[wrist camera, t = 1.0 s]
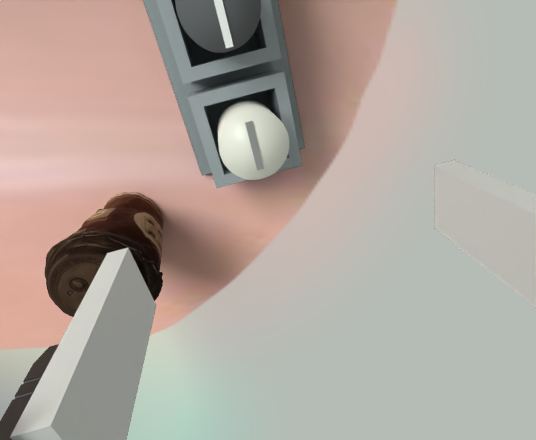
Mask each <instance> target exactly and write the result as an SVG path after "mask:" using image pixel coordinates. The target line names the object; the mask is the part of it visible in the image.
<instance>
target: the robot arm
mask: <svg viewBox="0 0 536 440" xmlns="http://www.w3.org/2000/svg"><path fill="white" fill-rule="evenodd" d="M434 169H435V170H434V172H435V174H434V177H435V179H434V180H435V181H434V186H435V187H434V193H435V194H434V197H435V198H434V204H435V205H434V207H435V208H434V211H435V212H434V228H435V229H436V230H437V231H438V232H440V233H441V234H442V235H443V236H445V237H446V238H447V239H448V240H450V241H451V242H452V243H454V244H455V245H456V246H458V247H459V248H460V249H461V250H463V251H464V252H465V253H466V254H468V255H469V256H471V257H472V258H473V259H474V260H475V261H477V262H478V263H479V264H481V265H482V266H483V267H485V268H486V269H487V270H488V271H490V272H491V273H492V274H494V275H495V276H496V277H497V278H499V279H500V280H501V281H503V282H504V283H505V284H506V285H508V286H509V287H510V288H512V289H513V290H514V291H515V292H517V293H518V294H520V295H521V296H522V297H523V298H524V299H526V300H527V301H528V302H530V303H531V304H532V305H533V306H535V307H536V195H535V194H533V193H530V192H528V191H526V190H523V189H521V188H519V187H516V186H514V185H512V184H509V183H507V182H505V181H502V180H500V179H498V178H495V177H493V176H491V175H488V174H486V173H484V172H481V171H479V170H477V169H474V168H472V167H470V166H467V165H465V164H463V163H460V162H458V161H456V160H451V161H448V162H444V163H440V164H437V165H435V168H434ZM155 309H156V304H155V302H154V299H153V297H152V295H151V293H150V291H149V289H148V287H147V285H146V283H145V281H144V279H143V277H142V275H141V273H140V271H139V269H138V267H137V264H136V262H135V260H134V258H133V256H132V254H131V252H130V250H129V248H125V249H121V250H117V251H113V252H110V253H107V255H106V257H105V258H104V260H103V262H102V264H101V266H100V268H99V270H98V272H97V274H96V275H95V277H94V279H93V281H92V283H91V285H90V287H89V289H88V291H87V292H86V294H85V296H84V298H83V300H82V302H81V304H80V306H79V308H78V309H77V311H76V313H75V315H74V317H73V319H72V321H71V323H70V325H69V326H68V328H67V330H66V332H65V334H64V336H63V338H62V340H61V342H60V343H59V344H58V345H54V346H51V347H49V348H48V349H47V350H46V351H45V352H44V353H43V354H42V355H41V356H40V357H39V358H38V360H37V361H36V362H35V363H34V364H33V366H32V367H31V369H30V371H29V372H28V374H27V376H26V378H25V379H24V384H22V385H21V386H20V388H19V390H18V392H17V393H16V395H15V399H14V400H12V402H11V403H10V406H9V407H8V409H7V410H6V412H5V414H4V416H3V417H2V419H1V421H0V440H126V439H127V435H128V430H129V426H130V421H131V417H132V412H133V407H134V403H135V399H136V394H137V390H138V385H139V380H140V376H141V372H142V367H143V363H144V358H145V354H146V349H147V345H148V340H149V336H150V332H151V327H152V323H153V318H154V314H155Z"/></svg>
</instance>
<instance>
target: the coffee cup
mask: <svg viewBox="0 0 536 440" xmlns="http://www.w3.org/2000/svg"><path fill="white" fill-rule="evenodd" d="M162 228H163V219H162V216H161V213H160V211H159V209H158V208H157V207H156V206H155V204H154V203H153V202H152V201H151V200H150V199H149V198H146V197H144V196H143V195H141V194H139V193H122V194H120V195H119V194H118V195H115V196H114V197H112V198H111V199H110V200H109V201H108V202H107V203H106V205H105V207H104V209H99V210H98V211H97V212H96V213H95V214H94V215H93V216H91V217H90V218H89V219H87V220H86V221H85V222H84V223H83V225H82V227H81V228H80V229H79V230H78V231H77V232H76V233H74V234H72V235H71V236H69V237H68V238H66V239H64V240H63V241H61V242H59V243H58V244H56V245H55V246H53V247H52V248H51V249H50V251H49V252H48V254H47V257H46V267H45V277H46V280H47V281H46V284H47V289H48V293H49V296H50V298H51V299H52V300H53V302H54V303H55V304H56V305H57V306H58V307H59V308H60V309H61V310H62V311H63V312H64V313H66V314H68V315H69V316H72V317H74V315H75V313H76V311H77V309H78V308H79V306H80V304H81V302H82V300H83V298H84V296H85V294H86V292H87V291H88V289H89V287H90V285H91V283H92V281H93V279H94V277H95V275H96V274H97V272H98V270H99V268H100V266H101V264H102V262H103V260H104V258H105V257H106V255H107V253H110V252H113V251H117V250H121V249H125V248H129V250H130V252H131V254H132V256H133V258H134V260H135V262H136V264H137V267H138V269H139V271H140V273H141V275H142V277H143V279H144V281H145V283H146V285H147V287H148V289H149V291H150V293H151V295H152V297H153V299H154V301H155V300H156V298H157V297H158V296H159V293H160V291H161V288H162V285H163V284H162V282H163V280H162V275H163V273H162V272H159V270H160V264H161V253H162V241H163V235H162Z"/></svg>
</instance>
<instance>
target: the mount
mask: <svg viewBox="0 0 536 440" xmlns="http://www.w3.org/2000/svg"><path fill="white" fill-rule="evenodd" d="M143 2H144V5H145V8H146V11H147V14H148V17H149V19H150V22H151V25H152V28H153V31H154V34H155V37H156V40H157V43H158V46H159V49H160V52H161V55H162V58H163V61H164V64H165V67H166V70H167V73H168V76H169V79H170V82H171V85H172V88H173V91H174V94H175V97H176V100H177V103H178V106H179V109H180V111H181V114H182V117H183V120H184V123H185V126H186V129H187V132H188V135H189V138H190V141H191V144H192V147H193V150H194V153H195V156H196V159H197V162H198V165H199V168H200V171H201V174H202V175H205V174H209V173H212V175H213V178H214V181H215V184H216V188H220V187H223V186H227V185H231V184H234V183H238V182H242V181H246V180H248V179H244V178H241V177H238V176H236V175H235V174H233V173H232V172H231V171H230V170H229V169H228V168H227V167H226V166H225V164H224V163H223V161H222V159H221V156H220V153H219V145H218V131H217V129H218V121H219V118H220V116H221V114H222V112H223V111H224V110H225V109H226V108H227V107H228V106H229V105H230V104H232V103H234V102H236V101H239V100H244V99H249V100H255V101H258V102H260V103H262V104H263V105H264V106H266V107H267V108H268V109H269V110H270V111H271V112H272V113H273V114H274V115H275V116H276V117H277V118H279V119H280V120H281V122H282V123H283V124H284V126H285V128H286V130H287V132H288V136H289V152H288V155H287V158H286V160H285V162H284V164H283V165H282V166H281V167H280V169H279V170H278V171H276V172H279V171H282V170H286V169H290V168H293V167H297V166H301V165H302V162H301V157H300V151H299V149H302V148H305V147H304V141H303V136H302V130H301V125H300V119H299V114H298V109H297V103H296V98H295V92H294V87H293V81H292V76H291V70H290V65H289V59H288V54H287V49H286V43H285V38H284V32H283V27H282V21H281V16H280V10H279V5H278V0H261V14H260V19H259V23H258V26H257V28H256V30H255V32H254V33H253V35H252V36H251V38H250V39H249V40H248V41H247V42H246V43H245V44H243V45H242V46H241V47H239V48H237V49H235V50H232V51H228V52H224V53H216V52H211V51H208V50H206V49H204V48H202V47H201V46H199V45H198V44H197V43H196V42H195V41H194V40H192V39H191V38H190V36H189V35H188V34H187V33H186V31H185V30H184V28H183V26H182V24H181V22H180V20H179V17H178V14H177V10H176V3H175V0H143Z"/></svg>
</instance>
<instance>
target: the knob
mask: <svg viewBox="0 0 536 440" xmlns="http://www.w3.org/2000/svg"><path fill="white" fill-rule="evenodd" d="M217 131H218V145H219V153H220V156H221V159H222V161H223V163H224V164H225V166H226V167H227V168H228V169H229V170H230V171H231V172H232V173H233V174H235V175H236V176H238V177H241V178H244V179H248V180H259V179H263V178H266V177H269V176H271V175H272V174H274V173H275V172H276V171H278V170H279V169H280V167H281V166H282V165H283V164H284V162H285V160H286V158H287V155H288V152H289V136H288V132H287V130H286V128H285V126H284V124H283V123H282V122H281V120H280V119H279V118H277V117H276V116H275V115H274V114H273V113H272V112H271V111H270V110H269V109H268V108H267V107H266V106H264V105H263V104H262V103H260V102H258V101H255V100H249V99H244V100H239V101H236V102H234V103H232V104H230V105H229V106H228V107H227V108H226V109H225V110H224V111H223V112H222V114H221V116H220V118H219V121H218V129H217Z"/></svg>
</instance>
